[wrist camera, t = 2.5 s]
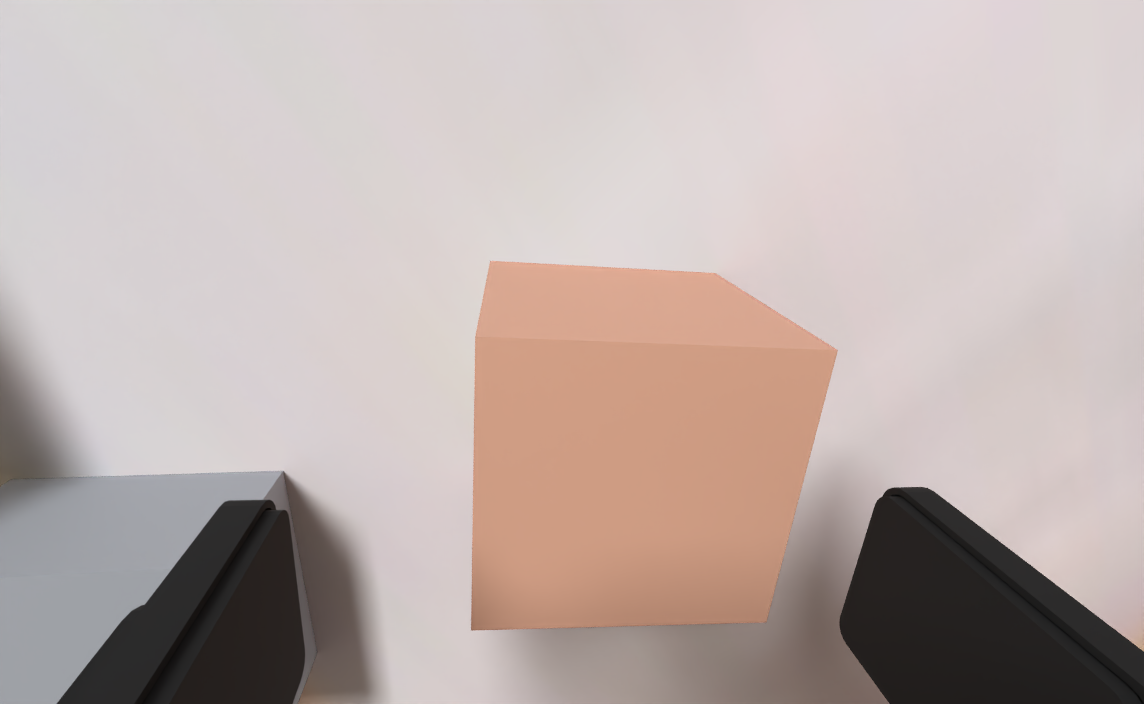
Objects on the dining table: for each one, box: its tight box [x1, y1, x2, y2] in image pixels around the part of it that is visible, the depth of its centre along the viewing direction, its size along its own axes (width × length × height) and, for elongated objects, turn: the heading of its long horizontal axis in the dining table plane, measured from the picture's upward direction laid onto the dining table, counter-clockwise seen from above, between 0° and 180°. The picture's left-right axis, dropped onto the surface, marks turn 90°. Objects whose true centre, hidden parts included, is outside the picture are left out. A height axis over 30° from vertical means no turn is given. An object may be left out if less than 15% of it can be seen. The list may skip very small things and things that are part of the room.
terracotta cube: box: [471, 261, 838, 630], centre depth 13 cm, size 6×6×6 cm
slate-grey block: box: [0, 471, 317, 704], centre depth 15 cm, size 7×7×4 cm
